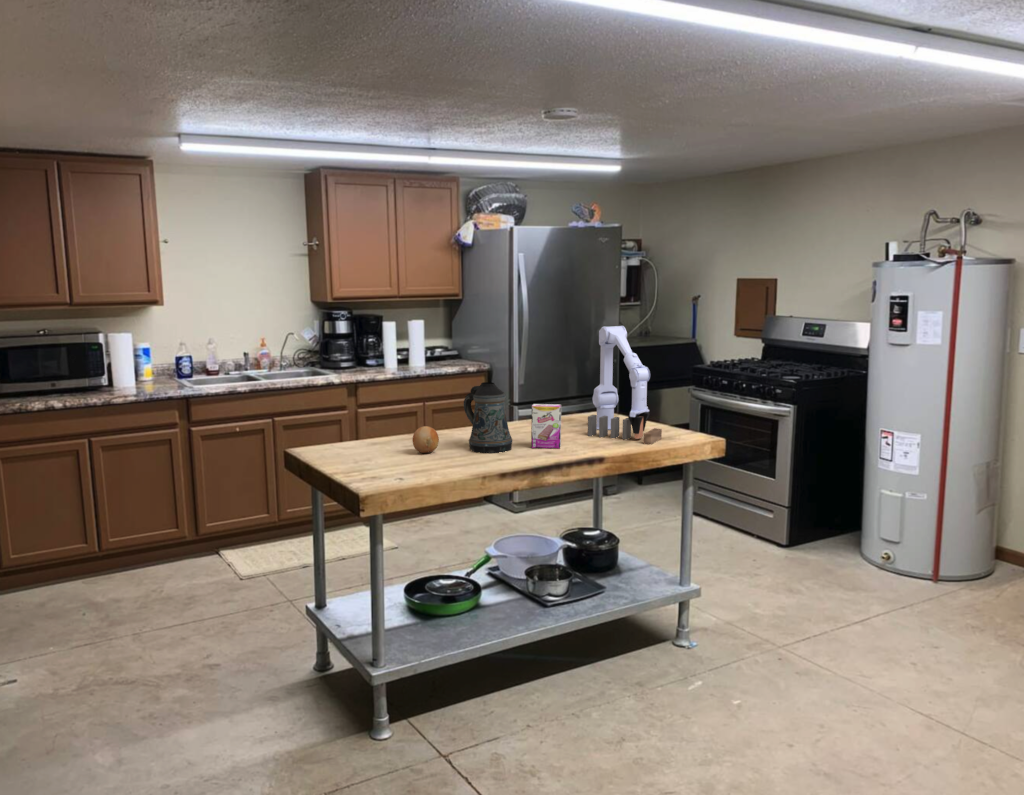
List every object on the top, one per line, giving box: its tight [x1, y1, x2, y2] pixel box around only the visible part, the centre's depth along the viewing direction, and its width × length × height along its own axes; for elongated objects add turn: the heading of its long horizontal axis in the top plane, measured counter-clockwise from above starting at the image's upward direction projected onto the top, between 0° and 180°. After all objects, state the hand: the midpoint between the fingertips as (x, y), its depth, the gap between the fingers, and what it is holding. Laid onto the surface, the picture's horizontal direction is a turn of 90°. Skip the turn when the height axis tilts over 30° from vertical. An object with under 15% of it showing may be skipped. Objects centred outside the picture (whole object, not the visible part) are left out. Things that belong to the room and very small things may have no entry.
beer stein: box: [463, 381, 513, 454], centre depth 301 cm, size 16×19×25 cm
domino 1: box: [587, 414, 597, 437], centre depth 326 cm, size 2×5×8 cm, turn 150°
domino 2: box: [598, 416, 609, 438], centre depth 323 cm, size 2×5×8 cm, turn 150°
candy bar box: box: [530, 403, 562, 450], centre depth 303 cm, size 11×5×16 cm, turn 84°
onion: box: [412, 425, 440, 454], centre depth 296 cm, size 10×10×10 cm
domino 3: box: [610, 416, 620, 439], centre depth 321 cm, size 2×5×8 cm, turn 150°
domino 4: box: [621, 417, 632, 440], centre depth 318 cm, size 2×5×8 cm, turn 150°
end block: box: [643, 427, 663, 445], centre depth 313 cm, size 3×12×4 cm, turn 150°
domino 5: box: [634, 416, 644, 440], centre depth 316 cm, size 2×5×8 cm, turn 150°
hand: (638, 432), depth 316 cm, fingers closed on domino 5, 5 cm apart
